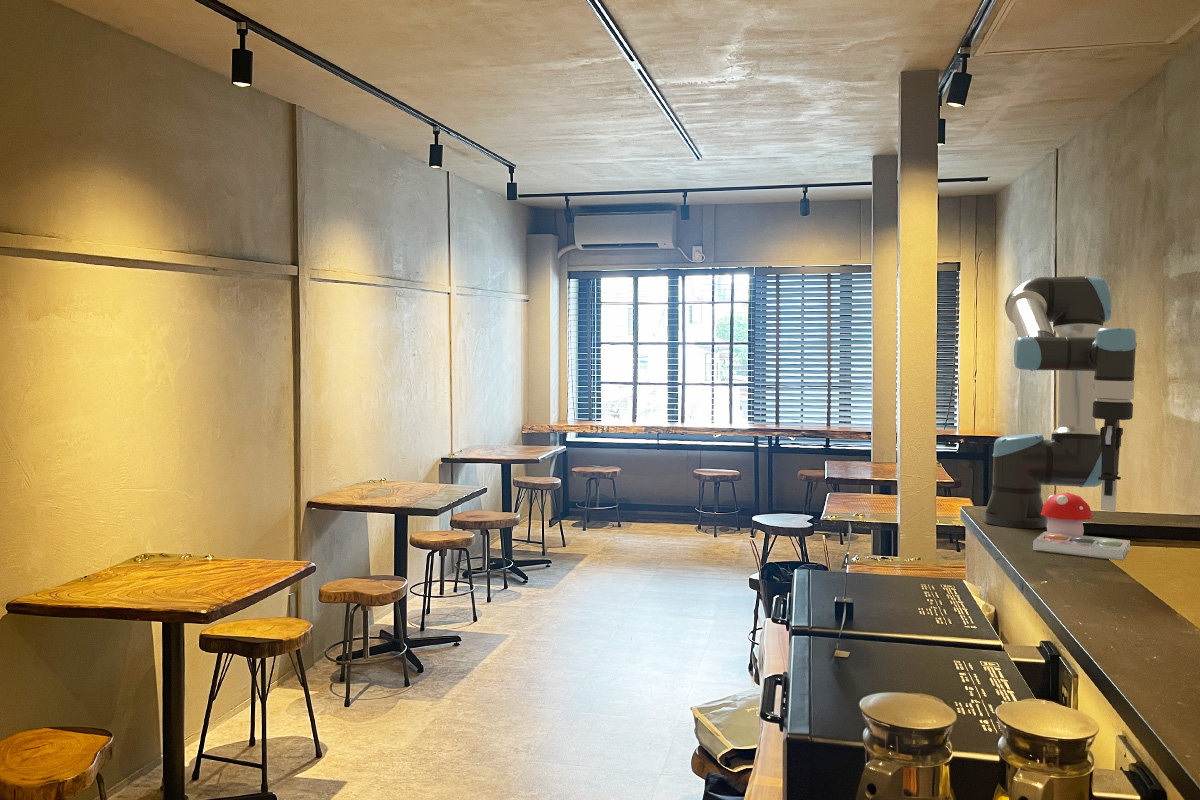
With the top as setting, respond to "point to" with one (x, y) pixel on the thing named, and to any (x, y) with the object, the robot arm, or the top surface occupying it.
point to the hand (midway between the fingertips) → (1108, 510)
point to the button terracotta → (1055, 536)
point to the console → (1082, 547)
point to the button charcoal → (1082, 539)
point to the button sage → (1109, 542)
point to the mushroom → (1066, 513)
